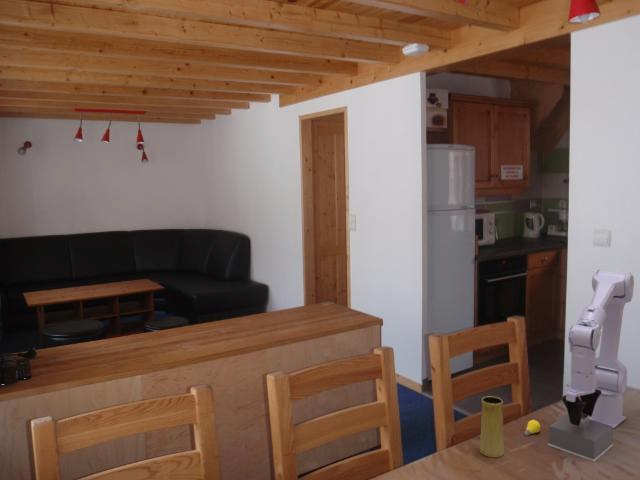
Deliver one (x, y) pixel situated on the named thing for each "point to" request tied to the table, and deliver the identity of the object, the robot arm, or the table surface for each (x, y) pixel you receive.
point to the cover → (581, 436)
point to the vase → (492, 427)
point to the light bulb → (532, 427)
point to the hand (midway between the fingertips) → (581, 419)
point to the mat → (581, 455)
